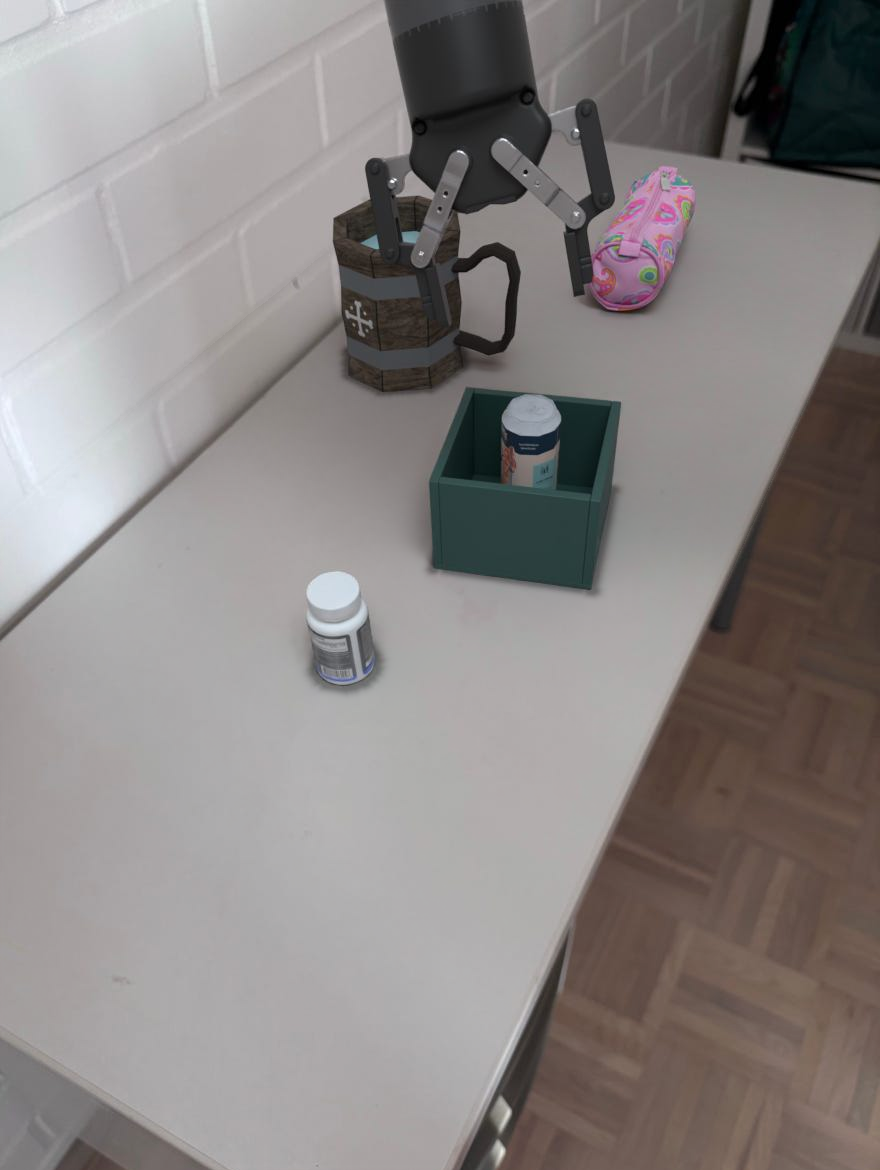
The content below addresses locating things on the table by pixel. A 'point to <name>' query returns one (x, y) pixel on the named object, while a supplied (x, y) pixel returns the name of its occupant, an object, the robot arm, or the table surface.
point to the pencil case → (642, 241)
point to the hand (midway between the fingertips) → (511, 310)
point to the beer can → (530, 442)
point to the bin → (523, 494)
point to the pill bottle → (339, 628)
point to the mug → (408, 302)
